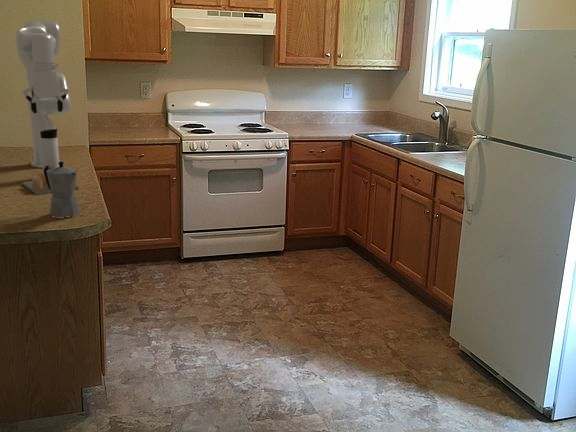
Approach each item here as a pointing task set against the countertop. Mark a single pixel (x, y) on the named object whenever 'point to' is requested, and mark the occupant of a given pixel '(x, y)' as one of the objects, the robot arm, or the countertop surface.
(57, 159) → the travel mug
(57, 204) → the coffeepot
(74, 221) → the countertop surface
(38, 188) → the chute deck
